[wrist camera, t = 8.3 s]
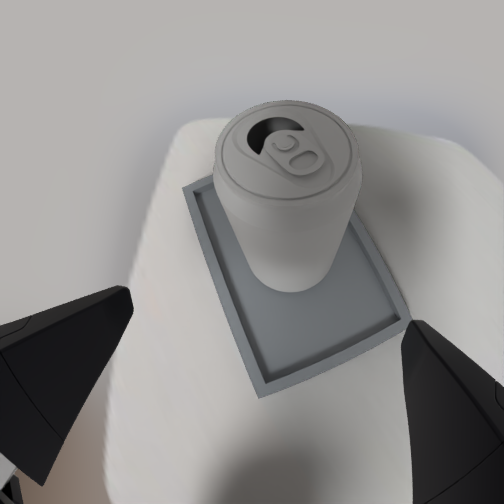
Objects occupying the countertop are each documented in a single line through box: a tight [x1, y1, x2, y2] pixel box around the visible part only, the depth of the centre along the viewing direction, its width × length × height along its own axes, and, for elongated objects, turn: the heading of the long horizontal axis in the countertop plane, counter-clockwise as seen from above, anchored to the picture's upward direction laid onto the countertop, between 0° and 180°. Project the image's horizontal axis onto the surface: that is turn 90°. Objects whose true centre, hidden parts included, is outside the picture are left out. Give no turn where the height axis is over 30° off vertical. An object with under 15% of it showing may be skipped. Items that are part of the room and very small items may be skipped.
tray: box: [182, 175, 413, 398], centre depth 21 cm, size 18×12×2 cm, turn 21°
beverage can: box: [213, 100, 362, 292], centre depth 16 cm, size 6×6×12 cm
